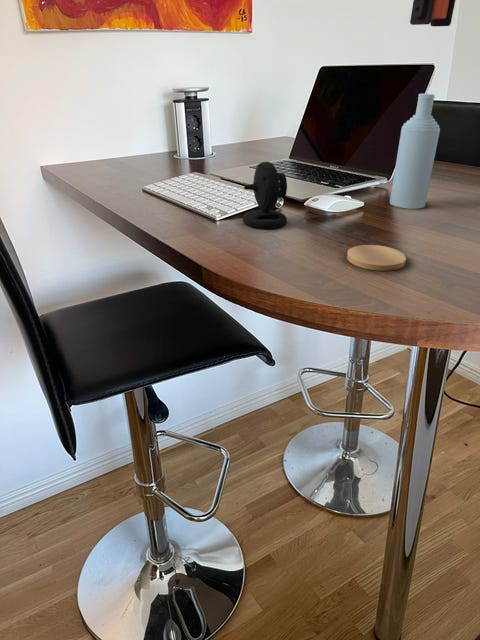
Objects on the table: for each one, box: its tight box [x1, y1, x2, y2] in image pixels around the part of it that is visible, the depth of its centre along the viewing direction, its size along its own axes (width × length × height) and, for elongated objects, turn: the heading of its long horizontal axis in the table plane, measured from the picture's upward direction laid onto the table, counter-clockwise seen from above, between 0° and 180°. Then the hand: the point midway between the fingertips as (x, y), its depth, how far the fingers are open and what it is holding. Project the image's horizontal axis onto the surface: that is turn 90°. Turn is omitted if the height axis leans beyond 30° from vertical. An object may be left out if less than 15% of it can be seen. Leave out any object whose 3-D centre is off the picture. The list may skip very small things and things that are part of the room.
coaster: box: [346, 244, 407, 272], centre depth 70 cm, size 8×8×1 cm
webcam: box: [242, 161, 288, 230], centre depth 82 cm, size 8×8×10 cm
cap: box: [431, 0, 449, 19], centre depth 71 cm, size 4×4×4 cm
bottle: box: [389, 93, 441, 210], centre depth 92 cm, size 7×7×20 cm
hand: (430, 23), depth 72 cm, fingers closed on cap, 3 cm apart
